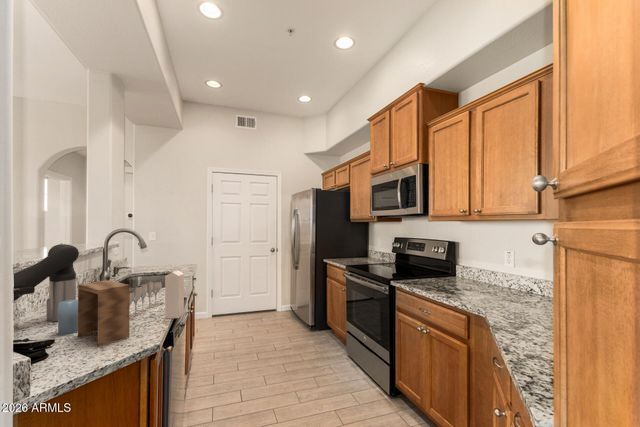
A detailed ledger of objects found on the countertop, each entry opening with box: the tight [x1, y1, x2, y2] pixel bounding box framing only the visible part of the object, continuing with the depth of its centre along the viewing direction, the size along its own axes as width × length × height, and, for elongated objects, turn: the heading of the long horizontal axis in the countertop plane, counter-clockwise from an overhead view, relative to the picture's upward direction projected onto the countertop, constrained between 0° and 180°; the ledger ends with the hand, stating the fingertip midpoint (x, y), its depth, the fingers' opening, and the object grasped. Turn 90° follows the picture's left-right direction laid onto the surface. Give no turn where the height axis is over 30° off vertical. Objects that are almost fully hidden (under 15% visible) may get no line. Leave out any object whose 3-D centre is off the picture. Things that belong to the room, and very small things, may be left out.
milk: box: [164, 266, 185, 319], centre depth 138 cm, size 6×6×22 cm
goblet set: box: [129, 280, 163, 321], centre depth 146 cm, size 28×6×13 cm, turn 0°
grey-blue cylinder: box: [57, 299, 78, 336], centre depth 119 cm, size 6×6×12 cm
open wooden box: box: [77, 279, 131, 348], centre depth 114 cm, size 10×18×20 cm, turn 57°
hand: (30, 288), depth 110 cm, fingers open, 8 cm apart
